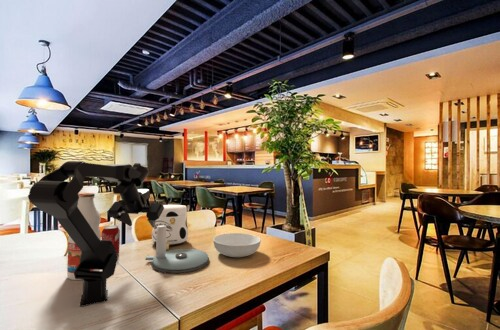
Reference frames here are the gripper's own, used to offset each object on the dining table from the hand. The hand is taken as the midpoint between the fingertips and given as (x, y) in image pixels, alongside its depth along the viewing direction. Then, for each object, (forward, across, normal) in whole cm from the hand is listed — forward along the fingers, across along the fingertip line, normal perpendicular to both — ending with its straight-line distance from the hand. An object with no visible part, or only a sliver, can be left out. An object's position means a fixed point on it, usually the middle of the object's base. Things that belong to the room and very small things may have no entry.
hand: (142, 225), depth 97 cm
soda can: (+17, +18, +2) cm, 25 cm away
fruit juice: (+6, +15, +18) cm, 24 cm away
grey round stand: (+14, -13, +4) cm, 19 cm away
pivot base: (+16, -13, +4) cm, 21 cm away
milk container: (+29, +1, -14) cm, 33 cm away
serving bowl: (+23, -34, -6) cm, 42 cm away
